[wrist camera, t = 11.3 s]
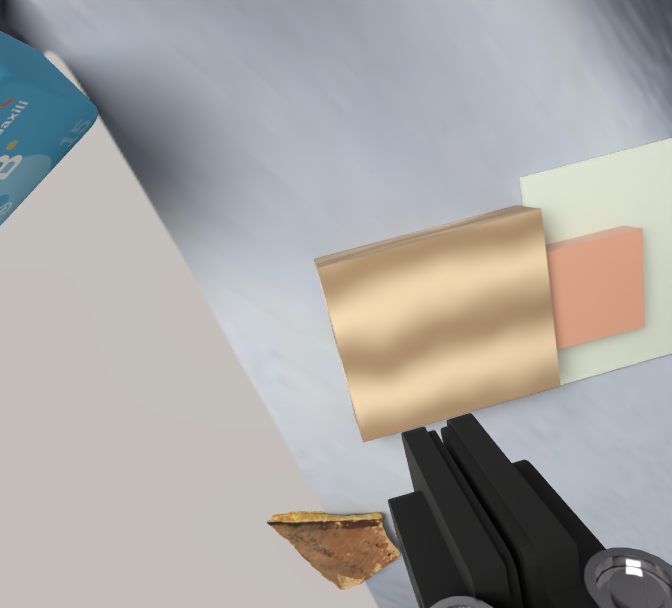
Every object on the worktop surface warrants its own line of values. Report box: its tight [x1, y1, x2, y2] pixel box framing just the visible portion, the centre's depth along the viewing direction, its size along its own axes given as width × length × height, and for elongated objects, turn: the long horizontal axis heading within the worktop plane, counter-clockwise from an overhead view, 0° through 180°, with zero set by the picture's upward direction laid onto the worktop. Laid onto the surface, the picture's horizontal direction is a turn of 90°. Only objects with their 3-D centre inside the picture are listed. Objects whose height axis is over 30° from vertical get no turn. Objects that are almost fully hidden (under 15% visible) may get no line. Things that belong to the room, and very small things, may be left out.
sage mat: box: [519, 138, 672, 385], centre depth 37 cm, size 18×14×1 cm
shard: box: [267, 511, 400, 590], centre depth 41 cm, size 11×8×2 cm
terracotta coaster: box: [545, 226, 645, 350], centre depth 36 cm, size 8×8×2 cm
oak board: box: [314, 206, 561, 442], centre depth 35 cm, size 14×16×4 cm
